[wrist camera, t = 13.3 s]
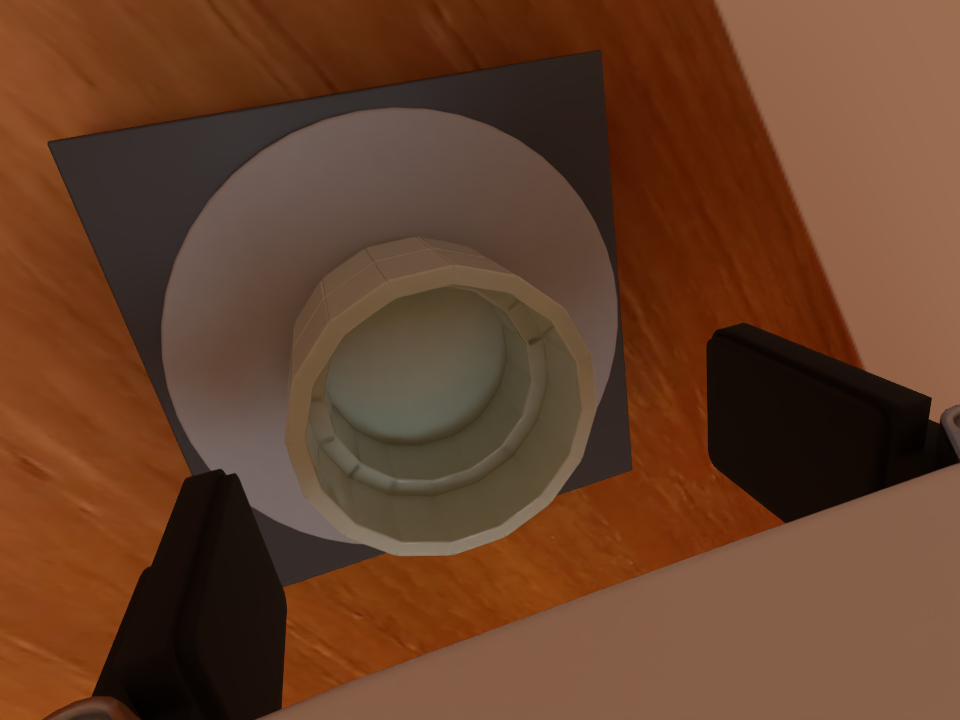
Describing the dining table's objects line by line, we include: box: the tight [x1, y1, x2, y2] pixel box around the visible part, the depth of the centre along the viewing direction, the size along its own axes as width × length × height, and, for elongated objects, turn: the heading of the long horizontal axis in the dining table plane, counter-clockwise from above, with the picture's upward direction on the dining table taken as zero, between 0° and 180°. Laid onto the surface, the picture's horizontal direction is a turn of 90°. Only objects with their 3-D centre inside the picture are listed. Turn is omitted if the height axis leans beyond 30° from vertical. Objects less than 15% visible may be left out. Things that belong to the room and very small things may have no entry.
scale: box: [48, 50, 632, 587], centre depth 18 cm, size 14×14×4 cm
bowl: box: [285, 237, 597, 556], centre depth 14 cm, size 7×7×4 cm
